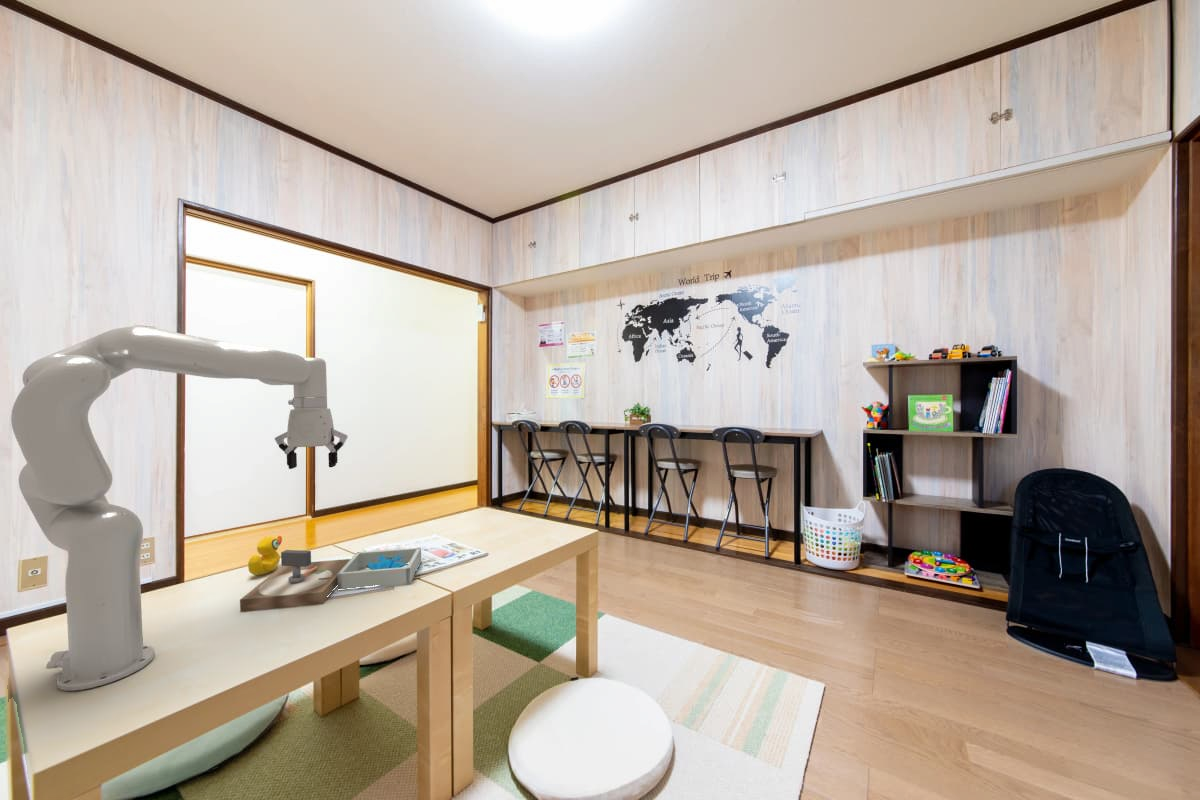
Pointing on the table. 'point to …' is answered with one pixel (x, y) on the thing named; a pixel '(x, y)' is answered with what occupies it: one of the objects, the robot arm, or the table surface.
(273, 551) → the duckling
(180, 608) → the table surface
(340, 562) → the board
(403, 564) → the toy airplane
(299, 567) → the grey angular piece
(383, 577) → the toy tray
